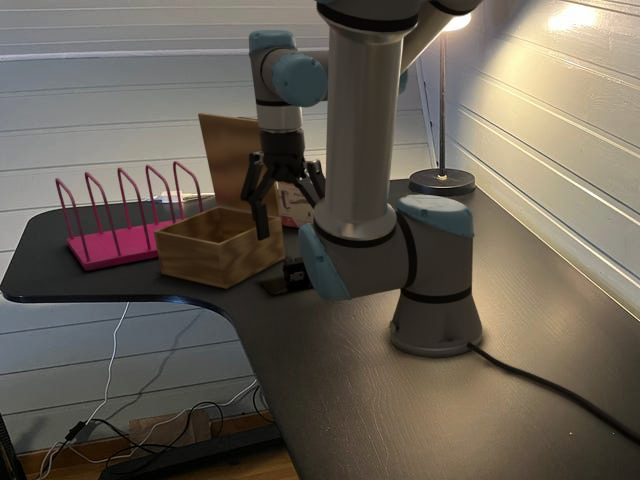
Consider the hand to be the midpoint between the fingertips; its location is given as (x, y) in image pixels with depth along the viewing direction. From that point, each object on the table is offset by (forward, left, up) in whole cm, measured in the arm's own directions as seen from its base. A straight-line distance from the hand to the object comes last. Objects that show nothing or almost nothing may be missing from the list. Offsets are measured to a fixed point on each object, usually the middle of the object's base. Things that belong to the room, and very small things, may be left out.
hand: (293, 244), depth 136 cm
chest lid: (+18, -8, +11) cm, 22 cm away
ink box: (+19, -28, -8) cm, 35 cm away
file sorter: (+41, -1, -8) cm, 41 cm away
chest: (+18, 0, -8) cm, 19 cm away
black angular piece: (0, 0, -8) cm, 8 cm away
